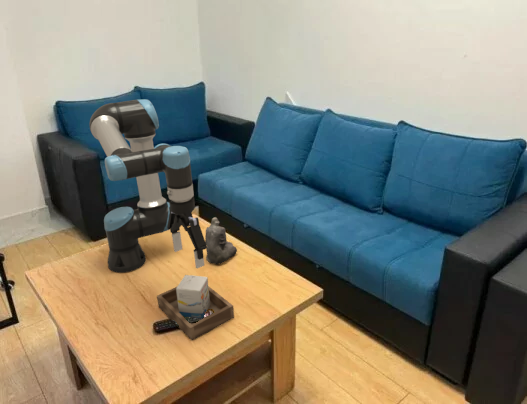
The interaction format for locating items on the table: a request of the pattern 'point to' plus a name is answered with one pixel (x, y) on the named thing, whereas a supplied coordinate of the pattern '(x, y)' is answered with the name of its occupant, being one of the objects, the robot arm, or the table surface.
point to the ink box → (193, 296)
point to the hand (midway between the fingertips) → (188, 258)
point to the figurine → (218, 244)
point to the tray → (195, 330)
